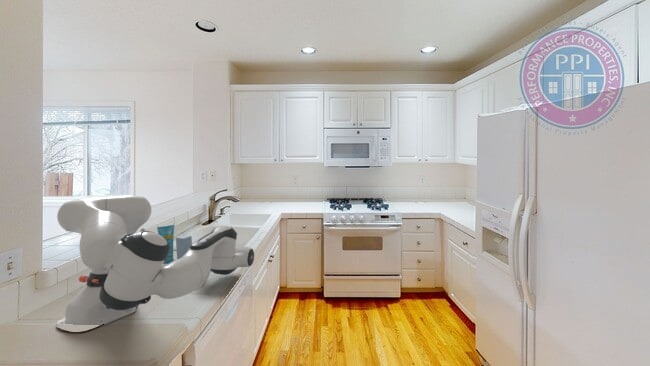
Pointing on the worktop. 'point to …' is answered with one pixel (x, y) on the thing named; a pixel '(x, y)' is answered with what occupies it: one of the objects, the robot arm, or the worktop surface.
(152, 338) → the worktop surface
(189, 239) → the box
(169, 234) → the tube
